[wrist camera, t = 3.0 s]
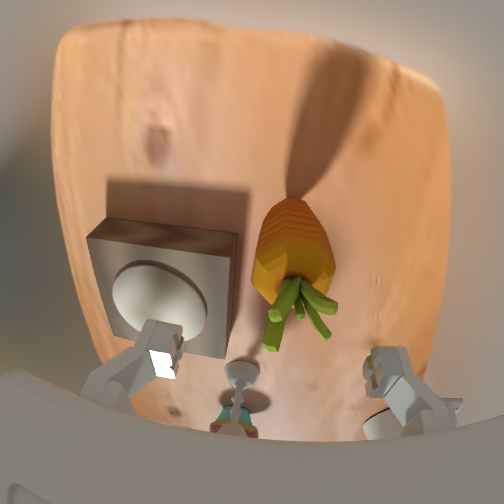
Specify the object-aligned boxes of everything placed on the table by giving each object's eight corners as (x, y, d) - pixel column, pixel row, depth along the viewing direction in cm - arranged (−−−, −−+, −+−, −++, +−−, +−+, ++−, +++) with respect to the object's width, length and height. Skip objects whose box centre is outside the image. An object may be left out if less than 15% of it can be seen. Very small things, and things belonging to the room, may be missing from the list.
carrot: (314, 170, 23) (346, 288, 11) (323, 222, 26) (349, 362, 13) (256, 181, 25) (223, 305, 12) (269, 232, 27) (253, 372, 14)
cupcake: (204, 402, 47) (191, 462, 37) (247, 398, 44) (238, 464, 34) (228, 422, 50) (218, 476, 40) (268, 418, 48) (262, 476, 38)
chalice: (226, 350, 37) (200, 480, 22) (274, 364, 38) (263, 491, 23) (212, 376, 41) (187, 487, 26) (255, 388, 42) (241, 497, 27)
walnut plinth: (237, 233, 27) (228, 261, 24) (230, 333, 35) (224, 362, 31) (105, 217, 28) (83, 239, 24) (125, 313, 36) (112, 338, 32)
